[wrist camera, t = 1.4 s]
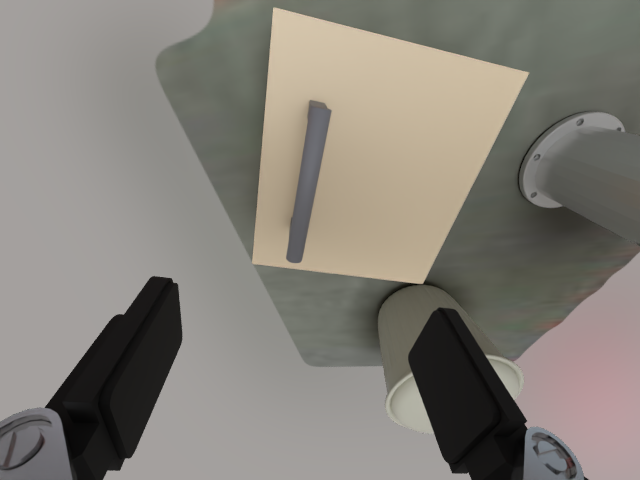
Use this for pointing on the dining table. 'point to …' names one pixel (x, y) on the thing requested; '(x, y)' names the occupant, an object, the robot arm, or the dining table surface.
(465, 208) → the dining table surface
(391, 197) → the carton lid
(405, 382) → the canister
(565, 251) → the dining table surface
